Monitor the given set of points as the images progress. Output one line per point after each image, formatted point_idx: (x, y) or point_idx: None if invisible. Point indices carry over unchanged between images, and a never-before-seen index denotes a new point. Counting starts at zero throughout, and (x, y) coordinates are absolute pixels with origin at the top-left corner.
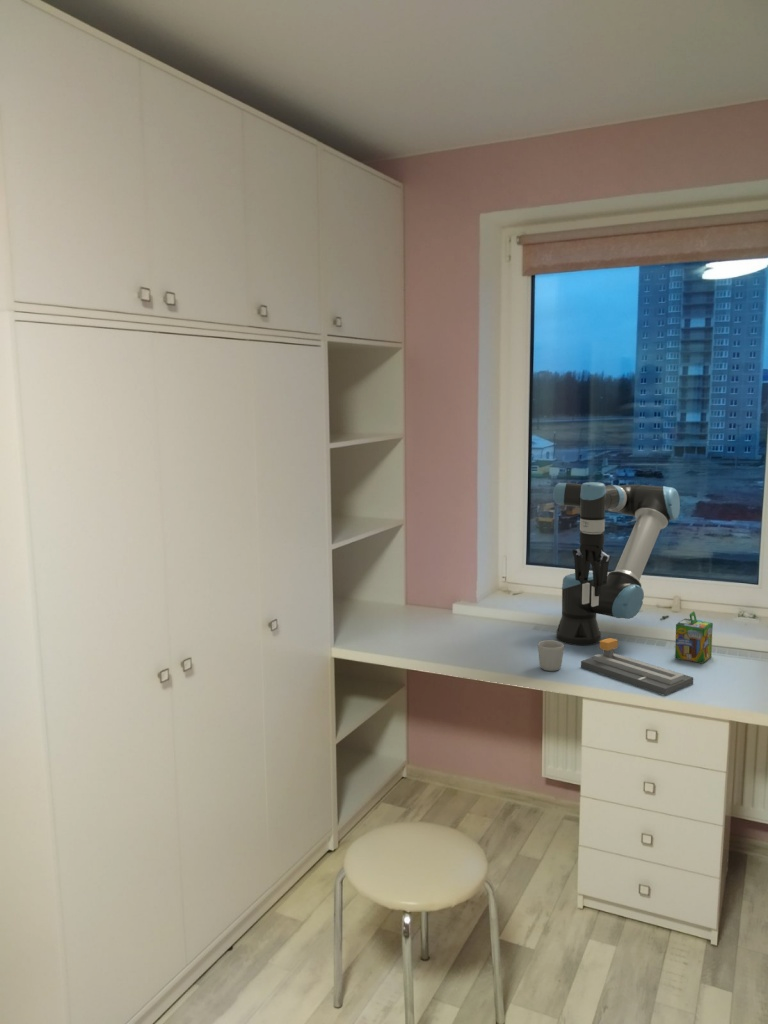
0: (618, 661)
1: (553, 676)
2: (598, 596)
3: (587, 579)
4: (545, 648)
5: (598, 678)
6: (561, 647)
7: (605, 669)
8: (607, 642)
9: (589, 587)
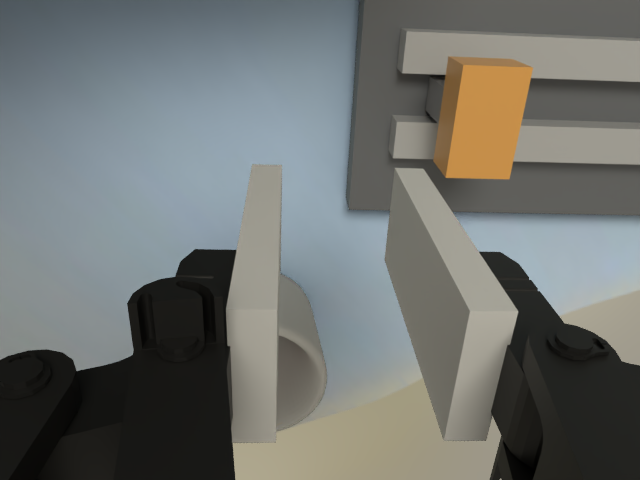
0: (544, 137)
1: (333, 356)
2: (451, 218)
3: (226, 380)
4: (277, 428)
5: (483, 248)
6: (326, 375)
7: (500, 211)
8: (500, 167)
9: (276, 263)
